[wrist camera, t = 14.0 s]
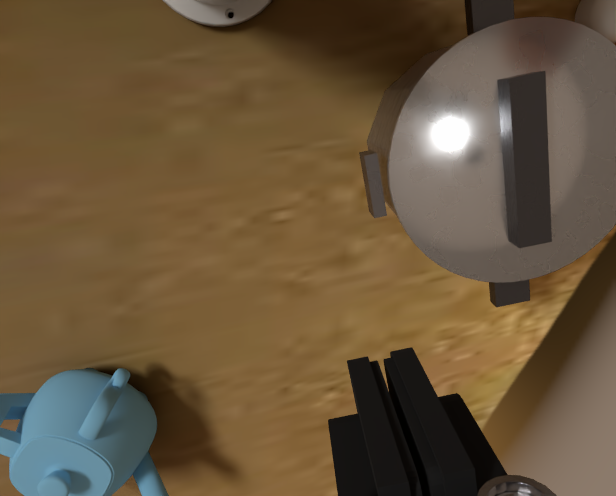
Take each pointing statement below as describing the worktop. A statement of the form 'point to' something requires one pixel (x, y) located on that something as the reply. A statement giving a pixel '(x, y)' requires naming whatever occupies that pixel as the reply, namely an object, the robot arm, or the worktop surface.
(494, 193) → the lid
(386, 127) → the pot
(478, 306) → the worktop surface
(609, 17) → the salt cellar
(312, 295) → the worktop surface
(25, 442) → the teapot
